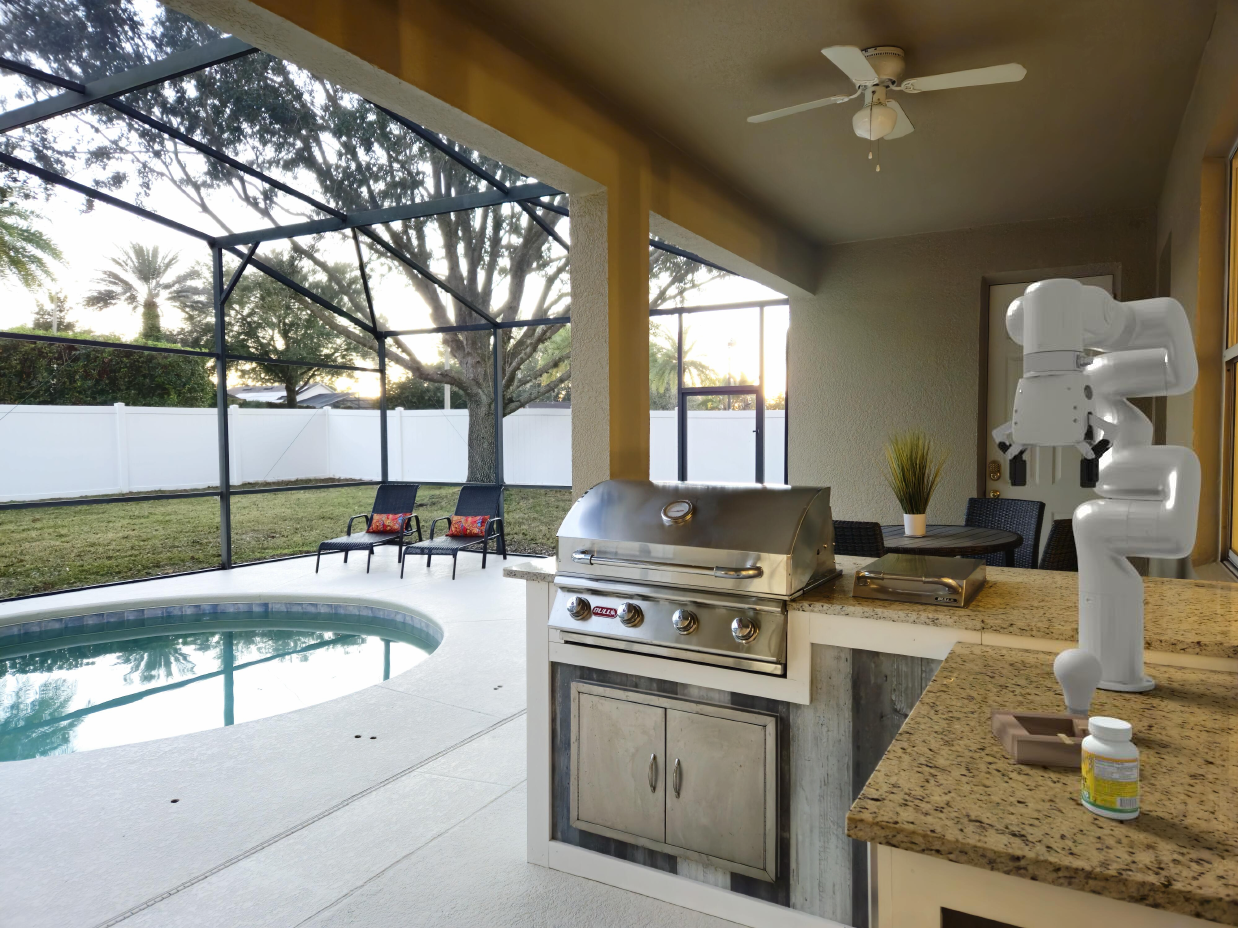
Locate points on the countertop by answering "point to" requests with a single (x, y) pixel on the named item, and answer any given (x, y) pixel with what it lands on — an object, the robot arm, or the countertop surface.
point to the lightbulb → (1077, 679)
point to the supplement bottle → (1110, 769)
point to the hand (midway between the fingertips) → (1052, 487)
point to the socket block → (1041, 736)
